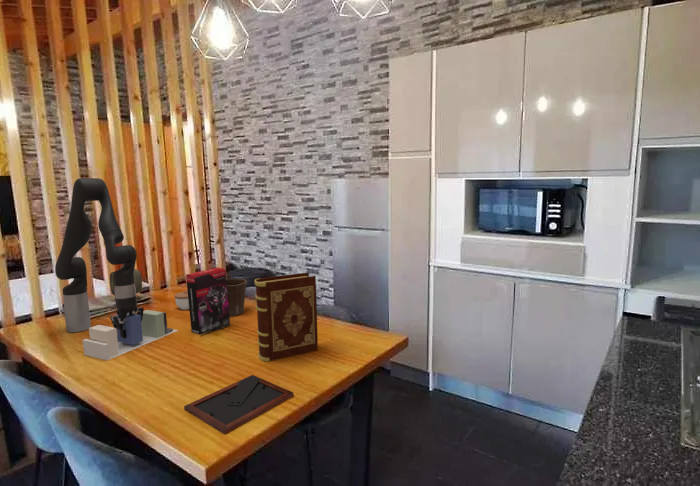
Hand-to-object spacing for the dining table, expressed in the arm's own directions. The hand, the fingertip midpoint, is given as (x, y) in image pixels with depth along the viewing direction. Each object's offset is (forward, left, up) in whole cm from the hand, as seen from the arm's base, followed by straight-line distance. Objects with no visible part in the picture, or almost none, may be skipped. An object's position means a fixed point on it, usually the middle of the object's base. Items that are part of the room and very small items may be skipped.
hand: (129, 335), depth 171 cm
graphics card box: (+17, +27, -5) cm, 33 cm away
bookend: (0, +16, -3) cm, 16 cm away
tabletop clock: (-62, +47, -5) cm, 78 cm away
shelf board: (0, +2, -5) cm, 5 cm away
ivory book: (0, -11, -3) cm, 12 cm away
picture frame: (+70, -18, -5) cm, 72 cm away
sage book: (0, +11, -3) cm, 12 cm away
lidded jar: (-19, +48, -5) cm, 52 cm away
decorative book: (+63, +19, -5) cm, 66 cm away
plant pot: (+9, +51, -5) cm, 52 cm away
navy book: (0, 0, -2) cm, 2 cm away
